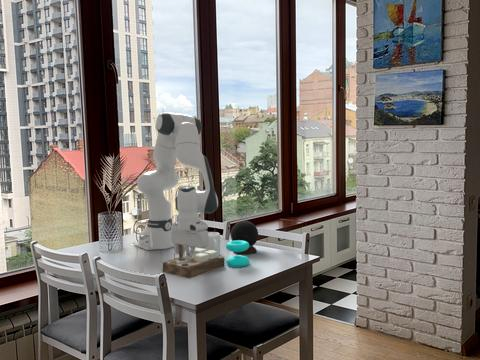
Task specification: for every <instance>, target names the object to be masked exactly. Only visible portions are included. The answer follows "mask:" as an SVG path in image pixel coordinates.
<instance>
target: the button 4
mask: <svg viewBox="0 0 480 360" xmlns="http://www.w3.org/2000/svg"><path fill="white" fill-rule="evenodd" d="M204 254H208V256H209V259H214V258H218V251H214V250H209V251H205V252H204Z"/></svg>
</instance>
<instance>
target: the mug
mask: <svg viewBox="0 0 480 360" xmlns="http://www.w3.org/2000/svg"><path fill="white" fill-rule="evenodd" d="M208 235H209V245H208V247H207V248H203V249H206V251H209V250H214V251H218V256H221V238H220V237H221V236H220V235H221V233H219V232H217V231H216V232H215V231H208Z"/></svg>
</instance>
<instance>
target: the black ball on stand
mask: <svg viewBox="0 0 480 360" xmlns="http://www.w3.org/2000/svg"><path fill="white" fill-rule="evenodd" d="M258 238H259V230H258V228H257V226H256V225H255V224H254V223H252V221H249V220H241V221H240V220H239V221H238V222H236V223H235V224H234V225H233V226H232V228H231V230H230V239H231V241H235V240H242V241H246V242H248V243H249V248H248V249H247V250H245V251H242V252H233V254H235V255H243V256H247V255H253V254H256V253H257V251H258V250H257V249H256V247H255V244H256V243H257V241H258Z"/></svg>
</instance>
